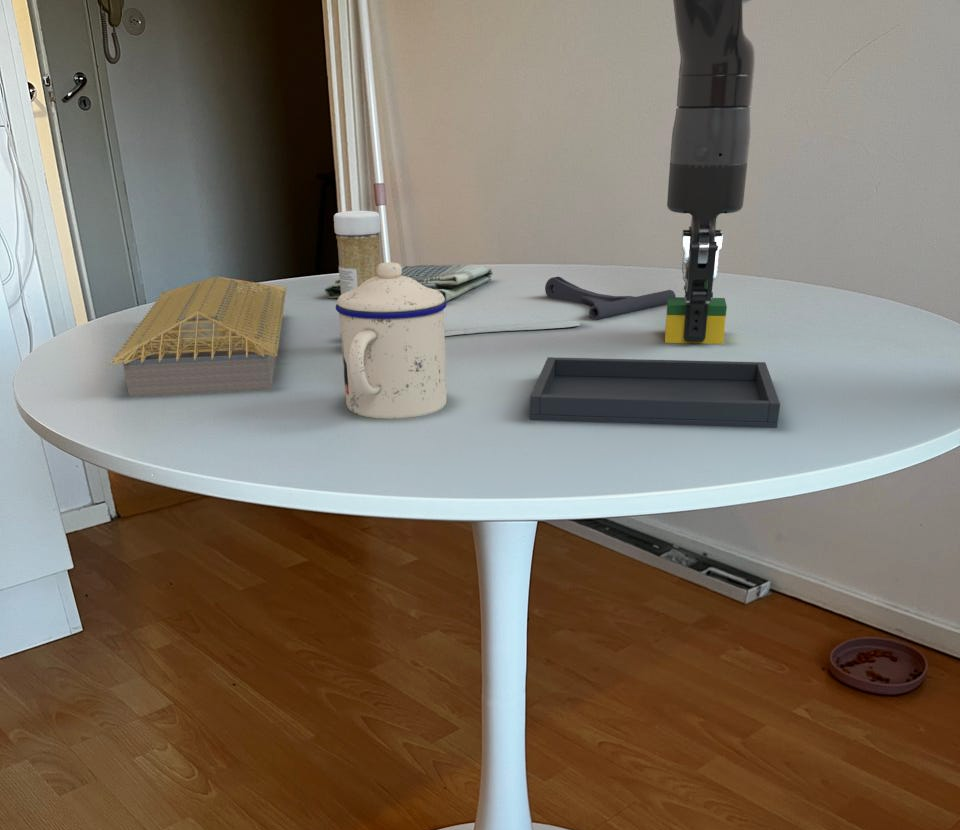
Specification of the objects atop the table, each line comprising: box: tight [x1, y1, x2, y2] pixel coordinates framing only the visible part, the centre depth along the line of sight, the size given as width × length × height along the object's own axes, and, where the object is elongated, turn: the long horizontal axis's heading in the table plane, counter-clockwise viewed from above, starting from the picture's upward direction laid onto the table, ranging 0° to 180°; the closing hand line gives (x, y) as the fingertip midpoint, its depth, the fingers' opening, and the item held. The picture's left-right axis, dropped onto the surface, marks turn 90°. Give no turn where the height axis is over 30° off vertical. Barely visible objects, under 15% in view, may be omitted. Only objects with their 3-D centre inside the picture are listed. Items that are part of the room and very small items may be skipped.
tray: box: [529, 356, 781, 429], centre depth 86 cm, size 20×14×2 cm
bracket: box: [544, 276, 676, 321], centre depth 125 cm, size 14×15×3 cm
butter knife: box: [444, 320, 581, 337], centre depth 111 cm, size 1×27×3 cm
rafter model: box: [109, 276, 287, 398], centre depth 104 cm, size 35×14×6 cm, turn 8°
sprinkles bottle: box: [333, 210, 382, 295], centre depth 102 cm, size 5×5×14 cm
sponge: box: [664, 296, 728, 345], centre depth 107 cm, size 6×4×4 cm
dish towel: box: [324, 263, 493, 302], centre depth 136 cm, size 19×18×3 cm
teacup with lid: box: [335, 262, 448, 420], centre depth 83 cm, size 12×9×12 cm
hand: (693, 335), depth 107 cm, fingers closed on sponge, 4 cm apart
